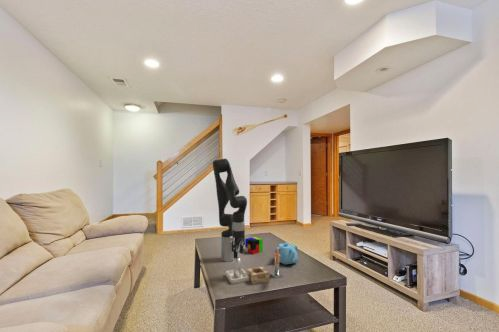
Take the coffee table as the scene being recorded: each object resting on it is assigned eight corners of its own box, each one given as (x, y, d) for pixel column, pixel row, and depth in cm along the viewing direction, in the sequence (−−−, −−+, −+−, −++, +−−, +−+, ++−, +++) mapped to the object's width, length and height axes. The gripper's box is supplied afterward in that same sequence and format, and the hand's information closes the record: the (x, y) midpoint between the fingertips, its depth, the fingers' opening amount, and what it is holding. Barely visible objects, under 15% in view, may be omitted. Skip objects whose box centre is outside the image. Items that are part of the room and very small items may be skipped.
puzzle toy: (245, 251, 188) (245, 238, 188) (254, 248, 194) (254, 236, 194) (252, 254, 180) (252, 241, 180) (262, 251, 186) (262, 239, 186)
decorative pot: (271, 263, 162) (271, 244, 162) (279, 256, 176) (279, 238, 176) (293, 268, 154) (293, 248, 154) (300, 260, 168) (300, 241, 168)
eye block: (247, 276, 141) (247, 268, 141) (261, 274, 144) (261, 266, 144) (253, 284, 131) (253, 275, 131) (269, 281, 135) (269, 272, 135)
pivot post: (270, 274, 144) (270, 256, 145) (278, 272, 147) (278, 255, 147) (274, 278, 139) (274, 259, 139) (283, 276, 141) (283, 258, 141)
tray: (225, 274, 143) (225, 271, 143) (242, 272, 147) (242, 268, 147) (231, 284, 131) (231, 280, 131) (249, 281, 135) (249, 276, 135)
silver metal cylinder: (232, 275, 141) (232, 257, 141) (239, 274, 142) (239, 256, 143) (235, 279, 136) (235, 260, 137) (241, 277, 138) (241, 259, 138)
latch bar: (273, 265, 130) (273, 248, 130) (273, 255, 145) (273, 240, 146) (280, 265, 129) (280, 248, 129) (280, 255, 145) (280, 240, 145)
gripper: (239, 232, 132) (239, 260, 132) (248, 226, 145) (248, 252, 145) (227, 231, 135) (227, 258, 135) (237, 225, 148) (237, 250, 148)
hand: (238, 255), depth 140 cm, fingers open, 8 cm apart
